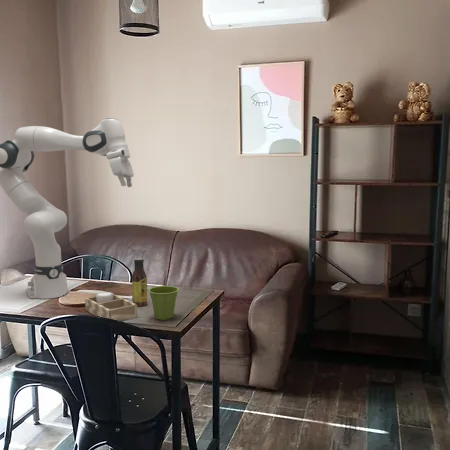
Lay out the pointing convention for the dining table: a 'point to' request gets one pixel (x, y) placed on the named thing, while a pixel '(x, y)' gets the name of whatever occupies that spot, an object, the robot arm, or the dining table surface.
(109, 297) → the white cylinder
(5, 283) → the dining table surface
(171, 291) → the plant pot
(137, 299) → the sauce bottle
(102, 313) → the caddy
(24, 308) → the dining table surface
